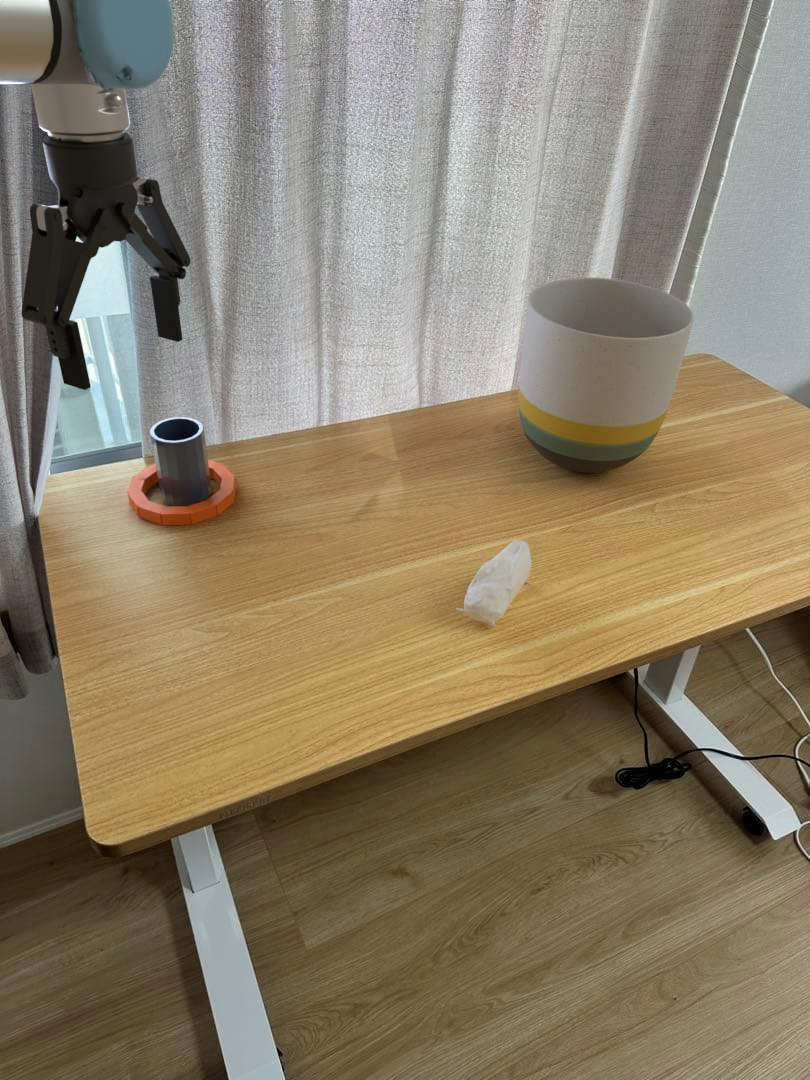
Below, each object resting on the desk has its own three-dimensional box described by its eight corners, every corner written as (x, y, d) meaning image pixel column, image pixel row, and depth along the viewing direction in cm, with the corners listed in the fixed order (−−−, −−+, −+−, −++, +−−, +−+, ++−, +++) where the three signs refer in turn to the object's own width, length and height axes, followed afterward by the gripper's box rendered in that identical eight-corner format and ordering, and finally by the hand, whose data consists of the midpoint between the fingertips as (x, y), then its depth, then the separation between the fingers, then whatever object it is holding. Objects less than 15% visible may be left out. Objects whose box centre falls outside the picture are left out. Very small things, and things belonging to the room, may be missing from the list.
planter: (676, 495, 103) (722, 337, 90) (527, 502, 100) (553, 340, 87) (624, 421, 118) (657, 276, 105) (494, 425, 116) (511, 277, 103)
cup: (150, 498, 98) (138, 433, 92) (183, 475, 102) (173, 412, 97) (190, 513, 96) (180, 447, 90) (221, 488, 100) (213, 425, 95)
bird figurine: (481, 578, 90) (449, 614, 82) (504, 527, 87) (473, 559, 78) (521, 599, 89) (493, 637, 80) (545, 548, 86) (518, 582, 77)
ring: (108, 507, 96) (106, 495, 95) (174, 459, 105) (173, 448, 104) (194, 536, 92) (192, 525, 91) (254, 484, 101) (254, 473, 100)
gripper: (1, 164, 60) (61, 419, 72) (211, 118, 78) (230, 328, 91) (-69, 150, 62) (1, 398, 75) (150, 109, 80) (177, 314, 93)
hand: (126, 360), depth 83 cm, fingers open, 13 cm apart
